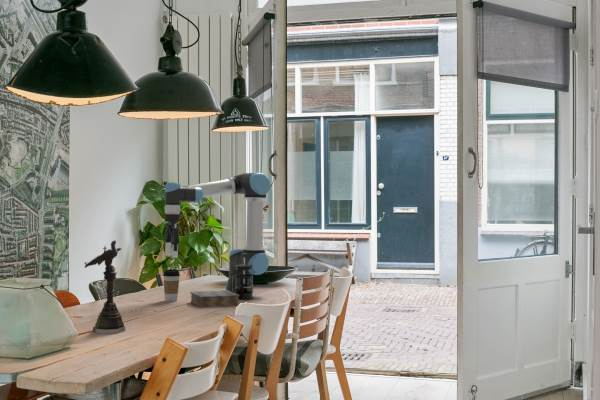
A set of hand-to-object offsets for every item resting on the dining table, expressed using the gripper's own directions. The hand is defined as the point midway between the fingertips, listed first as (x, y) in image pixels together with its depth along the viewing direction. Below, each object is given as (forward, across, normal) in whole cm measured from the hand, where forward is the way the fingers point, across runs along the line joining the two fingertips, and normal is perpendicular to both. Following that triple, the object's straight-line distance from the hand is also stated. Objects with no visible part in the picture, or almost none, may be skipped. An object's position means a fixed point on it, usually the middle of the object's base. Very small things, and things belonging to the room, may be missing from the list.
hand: (171, 256), depth 357 cm
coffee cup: (+22, 0, 0) cm, 22 cm away
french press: (+22, +4, +36) cm, 43 cm away
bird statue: (+22, +71, -44) cm, 86 cm away
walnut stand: (+22, +17, +17) cm, 32 cm away
